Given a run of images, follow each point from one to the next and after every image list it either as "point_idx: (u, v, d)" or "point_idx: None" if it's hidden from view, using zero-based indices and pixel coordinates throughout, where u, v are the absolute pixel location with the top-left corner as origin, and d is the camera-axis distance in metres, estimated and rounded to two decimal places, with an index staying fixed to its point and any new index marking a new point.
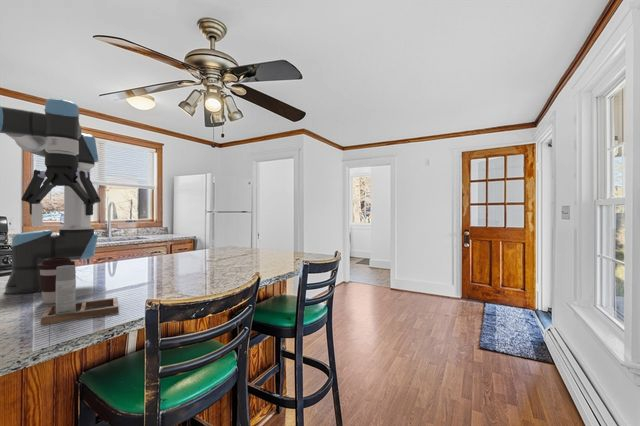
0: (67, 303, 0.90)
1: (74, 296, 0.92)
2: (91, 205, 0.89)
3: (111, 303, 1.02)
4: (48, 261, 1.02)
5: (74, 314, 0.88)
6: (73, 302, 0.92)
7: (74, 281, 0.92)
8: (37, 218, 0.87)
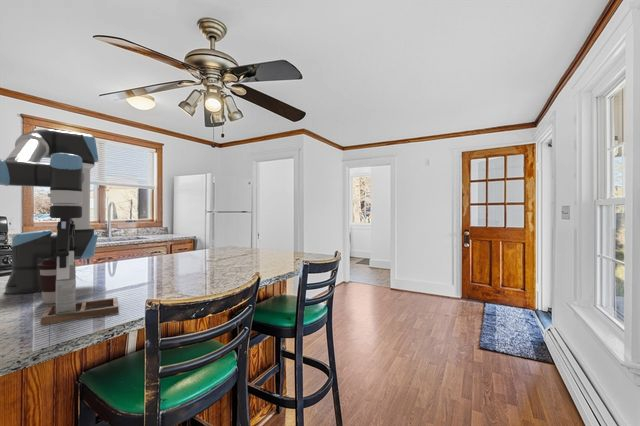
0: (67, 303, 0.90)
1: (74, 296, 0.92)
2: (62, 257, 0.84)
3: (111, 303, 1.02)
4: (48, 261, 1.02)
5: (74, 314, 0.88)
6: (73, 302, 0.92)
7: (74, 281, 0.92)
8: None
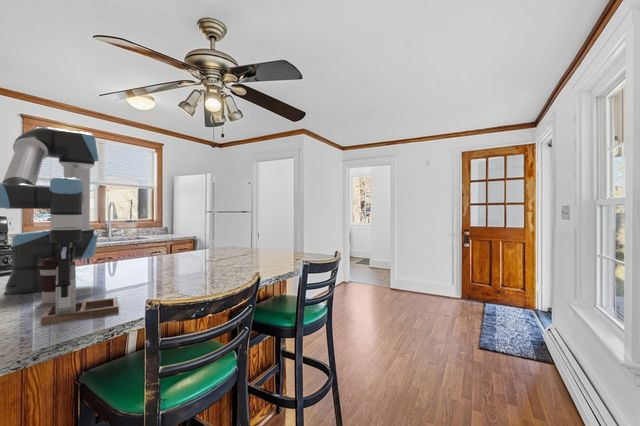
0: None
1: (74, 296, 0.92)
2: (63, 287, 0.88)
3: (111, 303, 1.02)
4: (48, 261, 1.02)
5: (74, 314, 0.88)
6: (73, 302, 0.92)
7: (74, 281, 0.92)
8: None
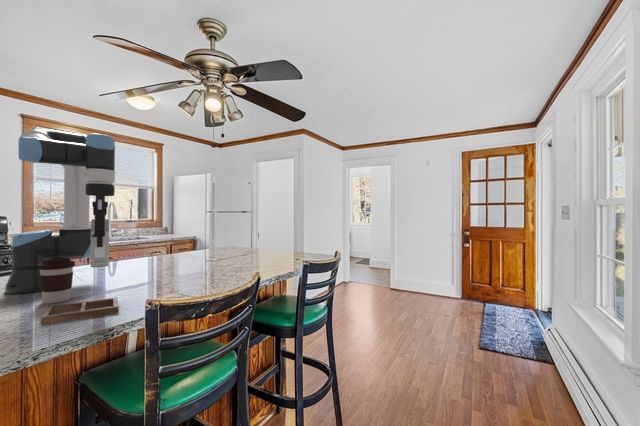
0: None
1: (107, 248, 0.97)
2: (99, 237, 0.93)
3: (111, 303, 1.02)
4: (48, 261, 1.02)
5: (74, 314, 0.88)
6: (107, 254, 0.96)
7: (108, 233, 0.96)
8: None
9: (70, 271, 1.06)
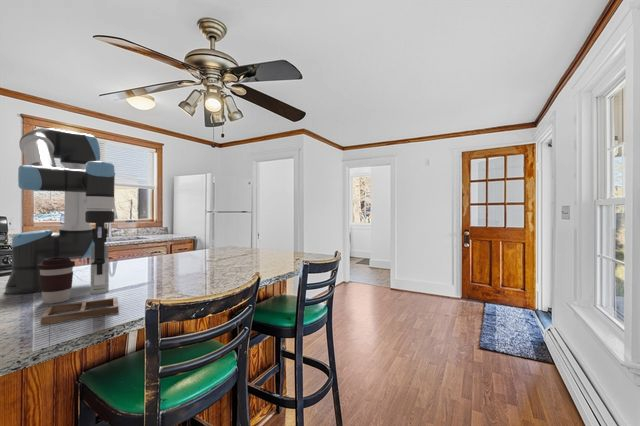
0: None
1: (107, 274, 0.97)
2: (99, 265, 0.93)
3: (111, 303, 1.02)
4: (48, 261, 1.02)
5: (74, 314, 0.88)
6: (107, 281, 0.96)
7: (107, 260, 0.97)
8: None
9: (70, 271, 1.06)
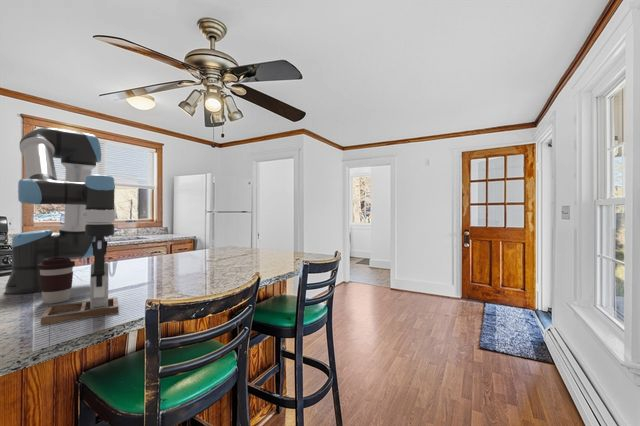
0: (101, 298, 0.95)
1: (107, 292, 0.97)
2: (98, 277, 0.91)
3: (111, 303, 1.02)
4: (48, 261, 1.02)
5: (74, 314, 0.88)
6: (106, 298, 0.96)
7: (107, 278, 0.97)
8: None
9: (70, 271, 1.06)
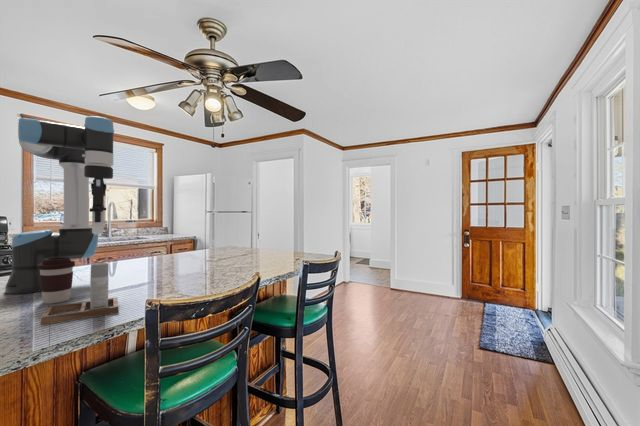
0: (101, 298, 0.95)
1: (107, 292, 0.97)
2: (97, 212, 0.91)
3: (111, 303, 1.02)
4: (48, 261, 1.02)
5: (74, 314, 0.88)
6: (106, 298, 0.96)
7: (107, 278, 0.97)
8: None
9: (70, 271, 1.06)
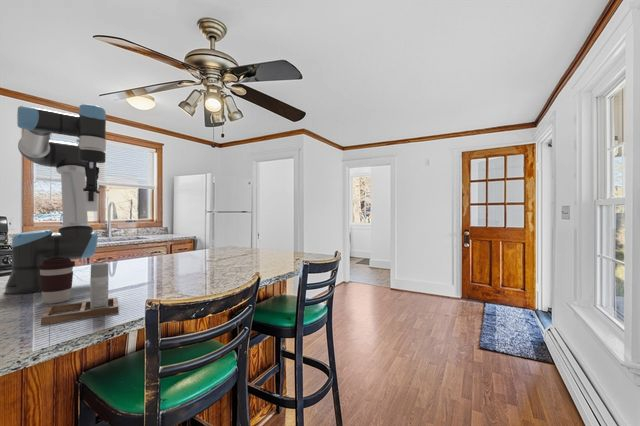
0: (101, 298, 0.95)
1: (107, 292, 0.97)
2: (90, 192, 0.98)
3: (111, 303, 1.02)
4: (48, 261, 1.02)
5: (74, 314, 0.88)
6: (106, 298, 0.96)
7: (107, 278, 0.97)
8: None
9: (70, 271, 1.06)
